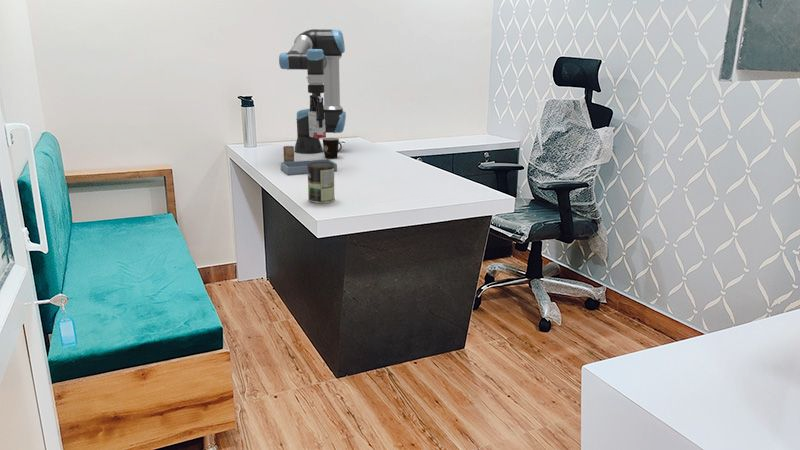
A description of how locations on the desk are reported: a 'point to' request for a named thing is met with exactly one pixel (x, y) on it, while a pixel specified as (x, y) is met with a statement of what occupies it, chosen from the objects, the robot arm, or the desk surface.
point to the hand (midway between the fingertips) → (317, 133)
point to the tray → (301, 166)
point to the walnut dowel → (288, 153)
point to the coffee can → (321, 182)
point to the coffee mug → (331, 147)
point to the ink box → (315, 125)
